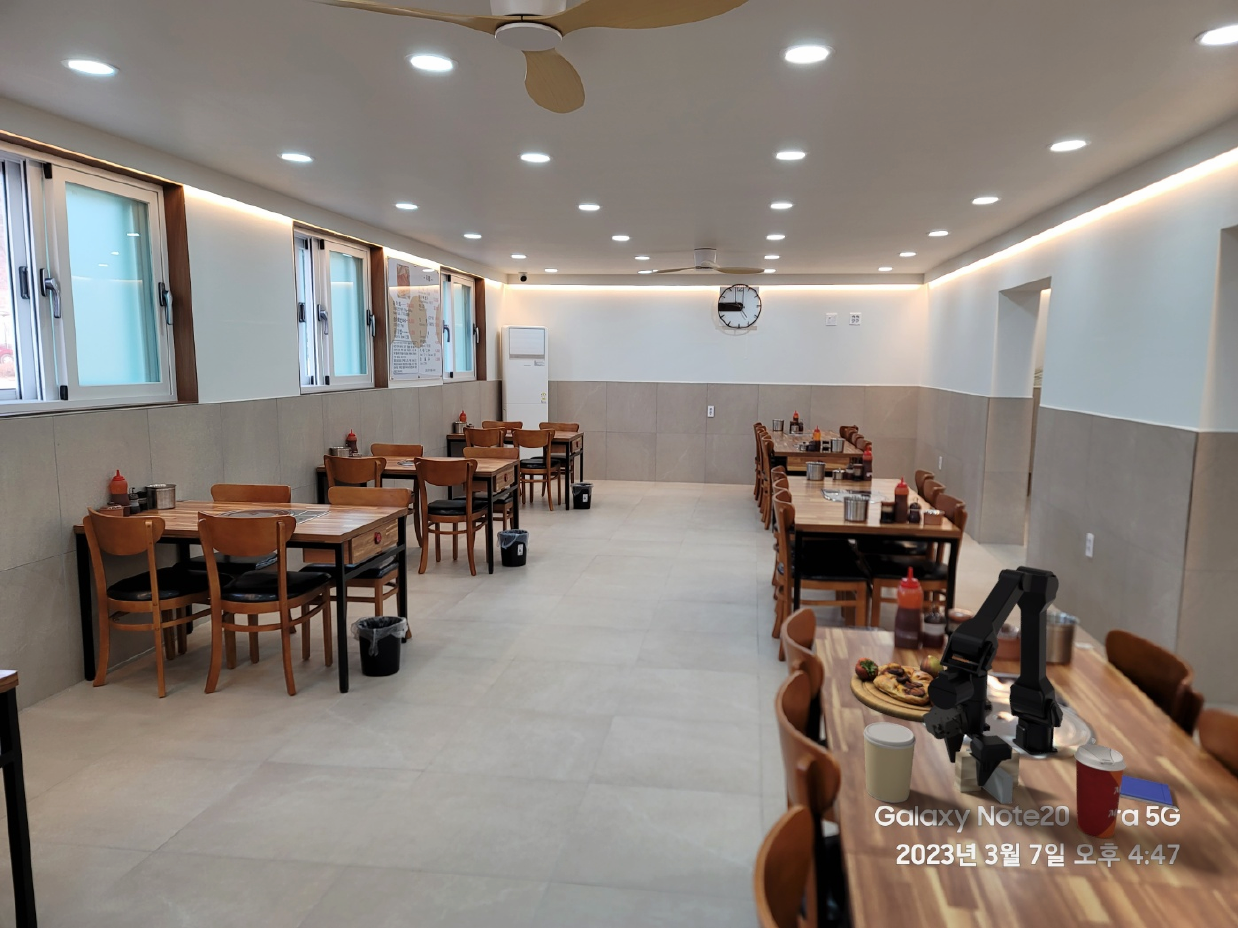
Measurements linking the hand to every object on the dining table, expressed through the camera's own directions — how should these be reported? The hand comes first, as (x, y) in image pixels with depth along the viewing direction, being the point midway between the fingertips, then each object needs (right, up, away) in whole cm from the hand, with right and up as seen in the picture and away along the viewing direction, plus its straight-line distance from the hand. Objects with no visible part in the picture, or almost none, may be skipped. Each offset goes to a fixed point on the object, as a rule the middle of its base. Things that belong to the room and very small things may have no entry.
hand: (966, 773), depth 152 cm
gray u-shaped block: (+4, -3, +1) cm, 5 cm away
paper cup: (+17, -5, -13) cm, 22 cm away
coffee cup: (-16, -3, -1) cm, 16 cm away
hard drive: (+31, -4, 0) cm, 32 cm away
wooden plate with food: (+7, +1, +45) cm, 46 cm away
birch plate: (+4, -3, +1) cm, 5 cm away
